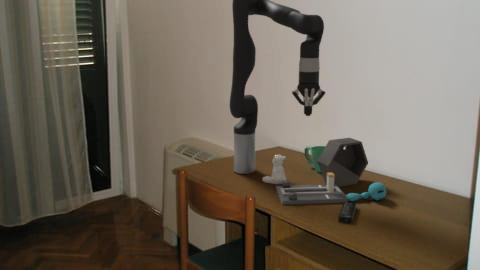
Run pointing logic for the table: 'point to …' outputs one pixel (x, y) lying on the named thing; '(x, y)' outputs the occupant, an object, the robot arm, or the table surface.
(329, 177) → the fader tab
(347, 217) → the multiport hub
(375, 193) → the toy
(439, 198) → the table surface
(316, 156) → the mug
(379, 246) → the table surface
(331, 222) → the table surface
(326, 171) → the planter
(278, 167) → the sitting furry creature
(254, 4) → the robot arm
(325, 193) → the console board
